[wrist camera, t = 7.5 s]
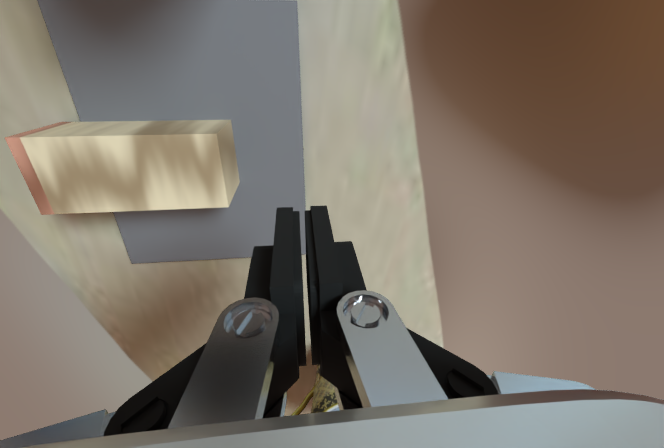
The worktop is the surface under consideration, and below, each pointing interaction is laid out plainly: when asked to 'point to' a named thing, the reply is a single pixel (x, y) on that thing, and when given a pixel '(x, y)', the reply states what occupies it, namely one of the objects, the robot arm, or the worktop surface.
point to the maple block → (128, 165)
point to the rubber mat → (194, 105)
